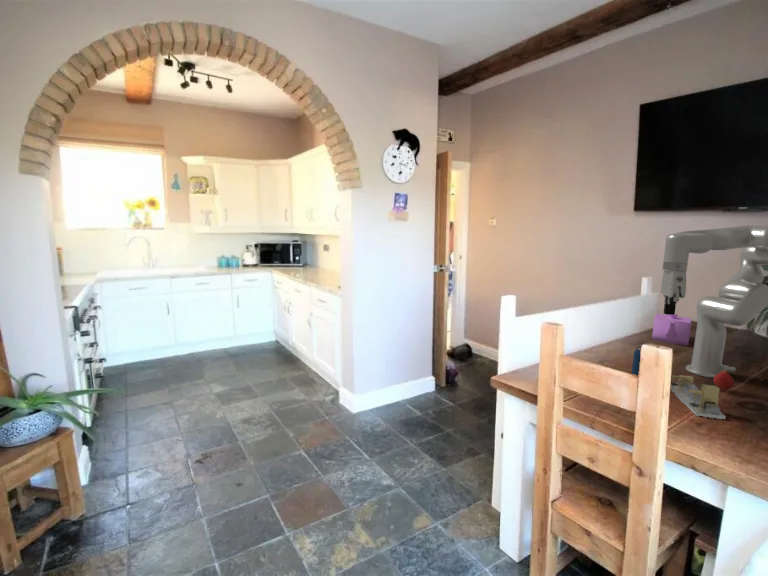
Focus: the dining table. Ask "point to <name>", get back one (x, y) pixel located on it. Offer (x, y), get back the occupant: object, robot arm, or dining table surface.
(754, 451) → the dining table surface
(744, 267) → the robot arm
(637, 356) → the soda can
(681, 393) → the board
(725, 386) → the onion
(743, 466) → the dining table surface
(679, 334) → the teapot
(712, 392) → the sliding jaw
